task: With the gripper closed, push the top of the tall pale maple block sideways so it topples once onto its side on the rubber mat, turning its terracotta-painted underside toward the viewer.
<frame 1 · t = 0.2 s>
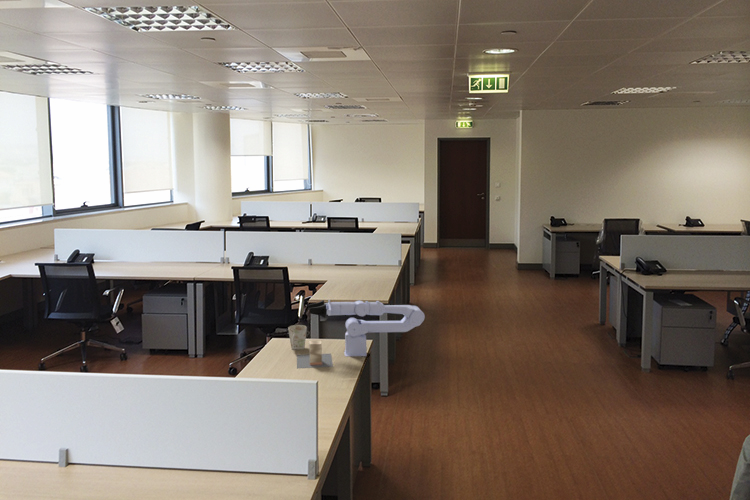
hand: (308, 309, 279), 21 cm above the table, tool horizontal, fingers open, 7 cm apart
mat: (314, 361, 276), on the table
mug: (296, 350, 293), on the table
block: (315, 362, 273), resting on mat
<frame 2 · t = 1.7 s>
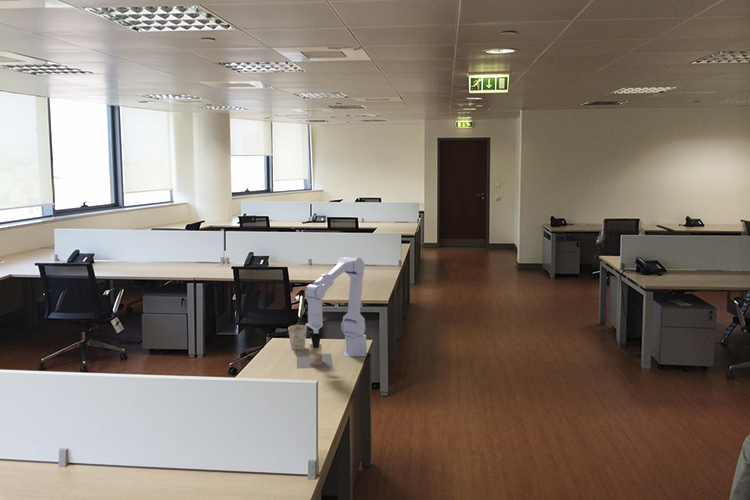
hand: (315, 345, 264), 10 cm above the table, tool pointing down, fingers open, 6 cm apart
nothing on the table moved.
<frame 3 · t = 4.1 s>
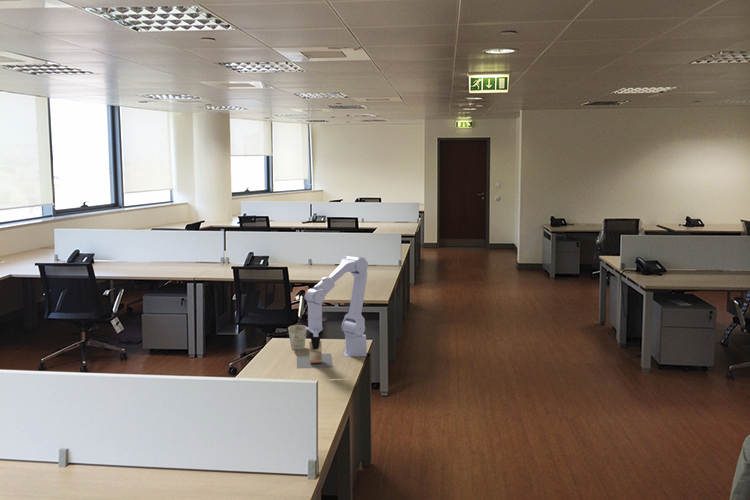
hand: (315, 348, 270), 7 cm above the table, tool pointing down, fingers closed
block: (315, 361, 273), point 1 cm above the table, tilted 11°, touching mat
everything else where it was.
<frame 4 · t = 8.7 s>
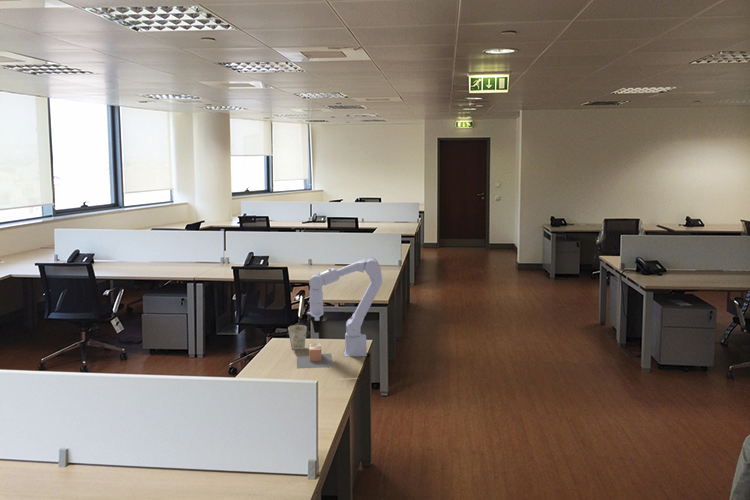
hand: (316, 332, 283), 10 cm above the table, tool pointing down, fingers closed
block: (315, 355, 275), point 3 cm above the table, tilted 90°, touching mat
everything else where it was.
at the end: block tilted 90°; block inside the target area (3.0 cm from its centre), point 3.0 cm above the table; block touching mat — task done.
